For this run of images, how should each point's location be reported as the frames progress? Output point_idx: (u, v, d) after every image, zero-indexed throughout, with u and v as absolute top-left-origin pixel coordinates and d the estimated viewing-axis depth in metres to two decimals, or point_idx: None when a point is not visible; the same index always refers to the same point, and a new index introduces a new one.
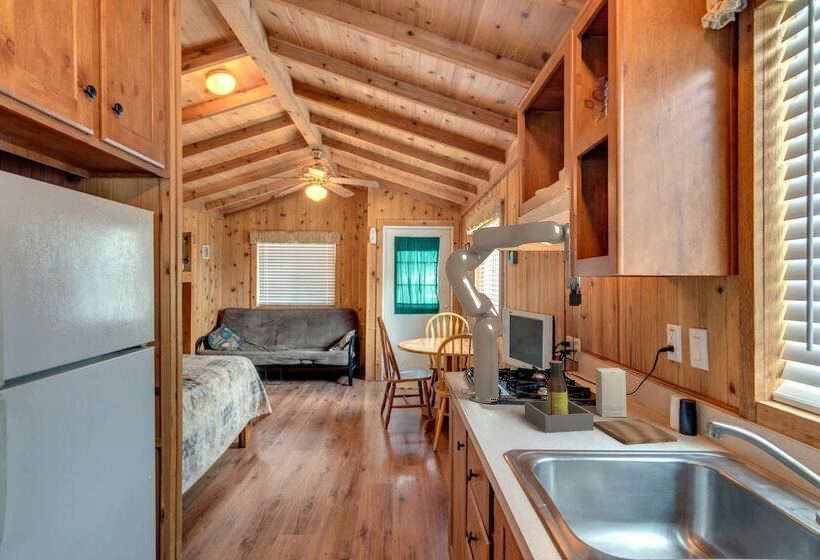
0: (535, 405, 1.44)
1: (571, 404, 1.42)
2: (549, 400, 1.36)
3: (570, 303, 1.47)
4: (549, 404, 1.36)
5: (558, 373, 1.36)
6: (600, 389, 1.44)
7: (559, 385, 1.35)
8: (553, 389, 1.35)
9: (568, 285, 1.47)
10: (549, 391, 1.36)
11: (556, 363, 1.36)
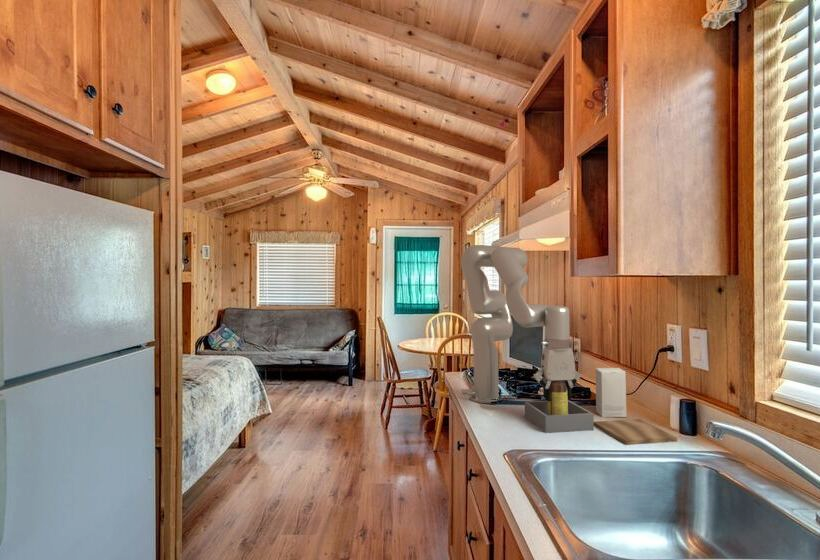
0: (535, 405, 1.44)
1: (571, 404, 1.42)
2: None
3: None
4: (549, 404, 1.36)
5: None
6: (600, 389, 1.44)
7: (560, 385, 1.35)
8: (553, 389, 1.35)
9: None
10: None
11: None
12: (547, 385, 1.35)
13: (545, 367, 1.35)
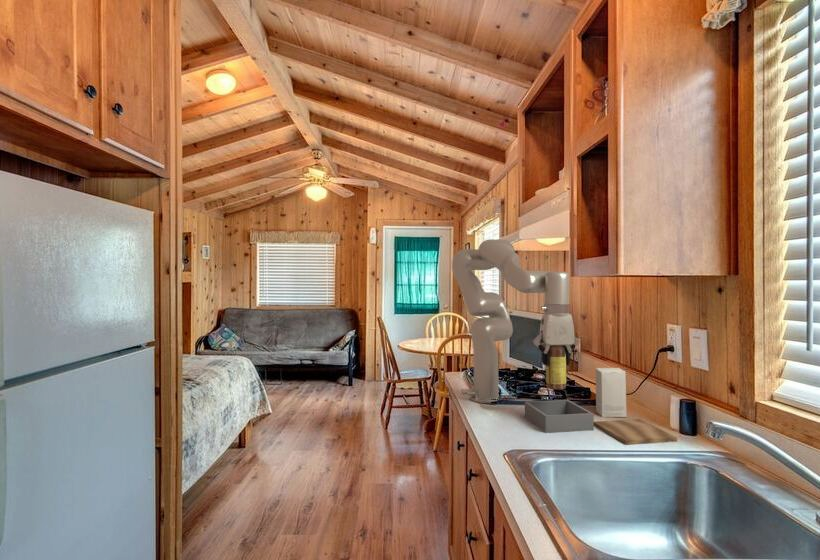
0: (535, 405, 1.44)
1: (571, 404, 1.42)
2: None
3: None
4: (547, 369, 1.37)
5: None
6: (600, 389, 1.44)
7: (558, 349, 1.35)
8: (552, 354, 1.36)
9: None
10: None
11: None
12: (546, 350, 1.36)
13: (544, 332, 1.35)
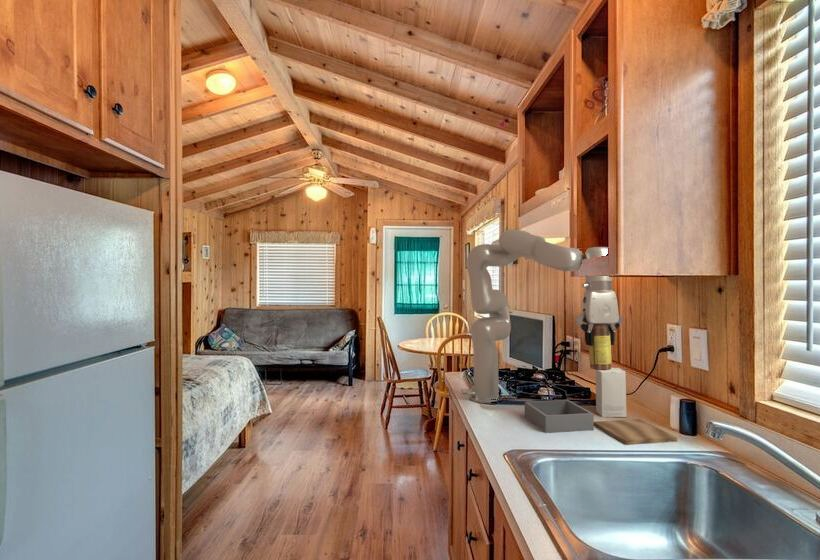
0: (535, 405, 1.44)
1: (571, 404, 1.42)
2: None
3: None
4: (591, 349, 1.31)
5: None
6: (600, 389, 1.44)
7: (603, 328, 1.29)
8: (596, 333, 1.30)
9: None
10: None
11: None
12: (589, 329, 1.30)
13: (587, 310, 1.30)
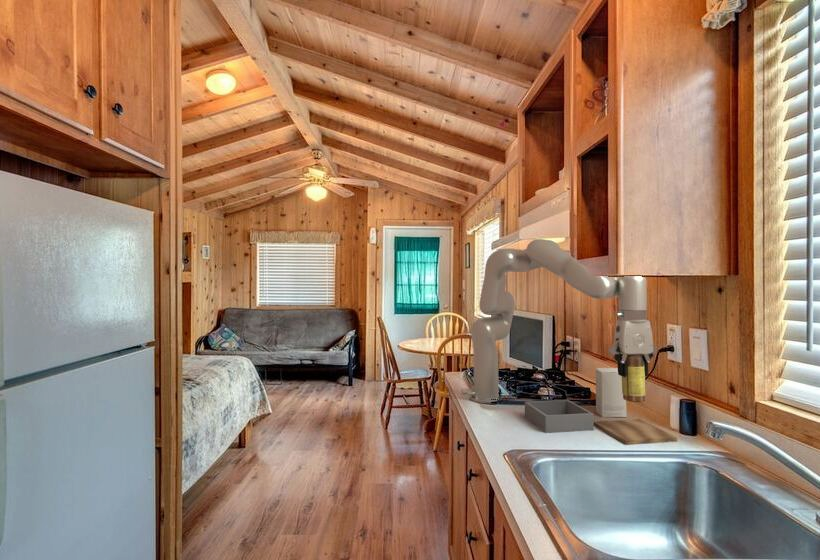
0: (535, 405, 1.44)
1: (571, 404, 1.42)
2: None
3: None
4: (625, 380, 1.27)
5: None
6: (600, 389, 1.44)
7: (637, 359, 1.25)
8: (630, 363, 1.26)
9: None
10: None
11: None
12: (623, 359, 1.26)
13: (621, 340, 1.26)
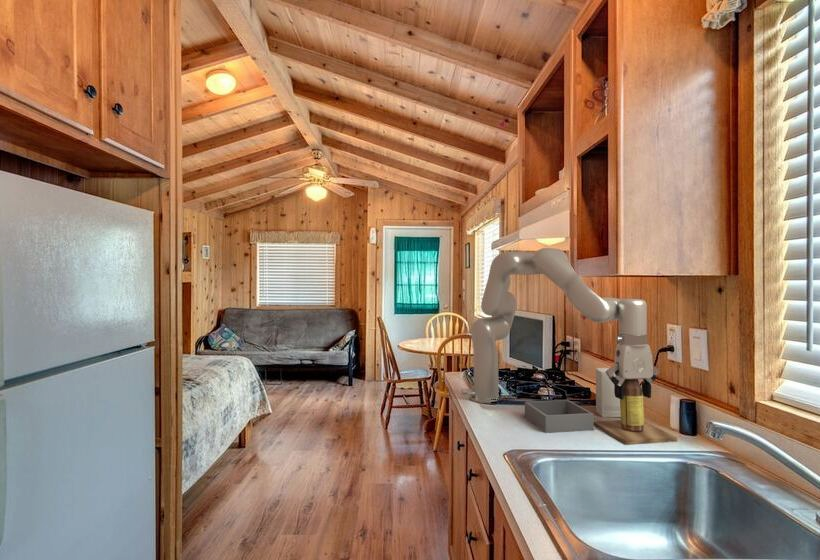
0: (535, 405, 1.44)
1: (571, 404, 1.42)
2: (623, 404, 1.27)
3: None
4: (623, 409, 1.27)
5: None
6: (600, 389, 1.44)
7: (636, 388, 1.26)
8: (628, 393, 1.26)
9: None
10: (623, 395, 1.27)
11: None
12: (620, 382, 1.26)
13: (621, 364, 1.26)
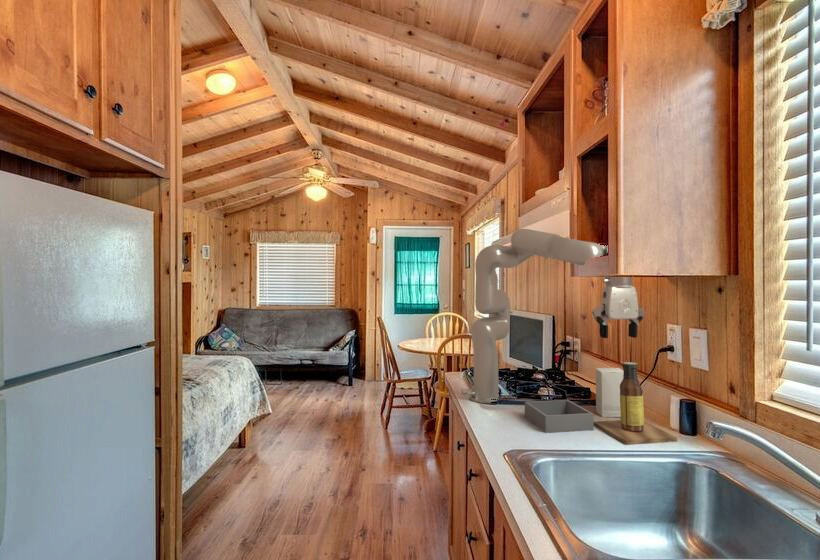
0: (535, 405, 1.44)
1: (571, 404, 1.42)
2: (623, 404, 1.27)
3: None
4: (623, 409, 1.27)
5: (634, 376, 1.27)
6: (600, 389, 1.44)
7: (636, 388, 1.26)
8: (628, 393, 1.26)
9: None
10: (623, 395, 1.27)
11: (631, 365, 1.27)
12: (605, 321, 1.30)
13: (607, 305, 1.30)
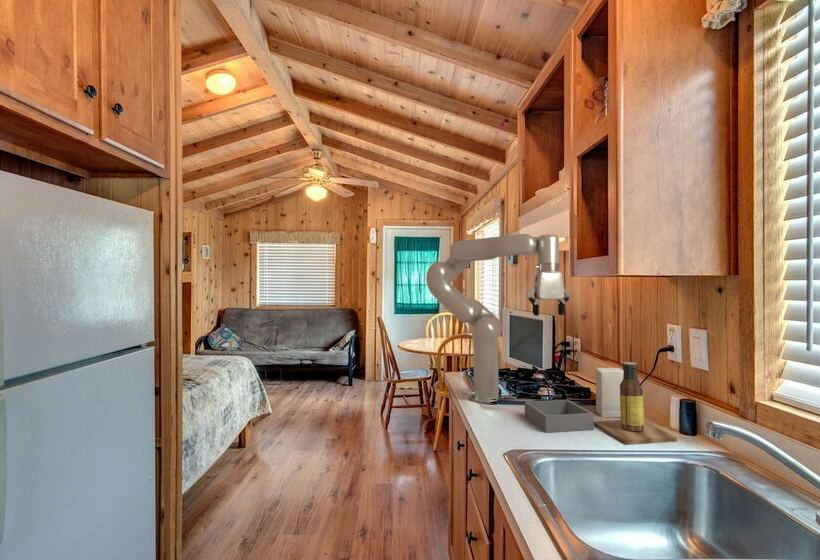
0: (535, 405, 1.44)
1: (571, 404, 1.42)
2: (623, 404, 1.27)
3: None
4: (623, 409, 1.27)
5: (634, 376, 1.27)
6: (600, 389, 1.44)
7: (636, 388, 1.26)
8: (628, 393, 1.26)
9: None
10: (623, 395, 1.27)
11: (631, 365, 1.27)
12: (536, 301, 1.54)
13: (537, 287, 1.54)
